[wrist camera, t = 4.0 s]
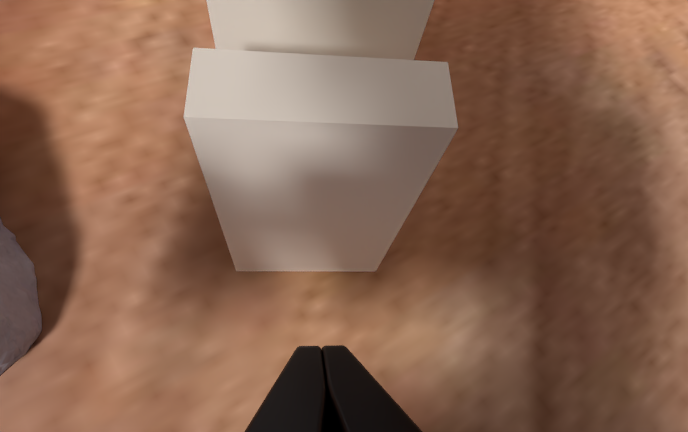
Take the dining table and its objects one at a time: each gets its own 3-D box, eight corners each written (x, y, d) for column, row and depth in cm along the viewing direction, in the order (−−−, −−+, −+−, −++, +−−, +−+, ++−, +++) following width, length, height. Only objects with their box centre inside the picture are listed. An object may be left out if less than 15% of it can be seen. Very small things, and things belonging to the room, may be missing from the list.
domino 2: (370, 186, 18) (436, -6, 10) (241, 183, 18) (201, -23, 9) (367, 152, 19) (428, -55, 11) (244, 147, 18) (208, -74, 10)
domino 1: (375, 271, 17) (458, 128, 9) (236, 271, 16) (183, 117, 8) (373, 231, 17) (447, 62, 9) (239, 229, 17) (192, 47, 9)
